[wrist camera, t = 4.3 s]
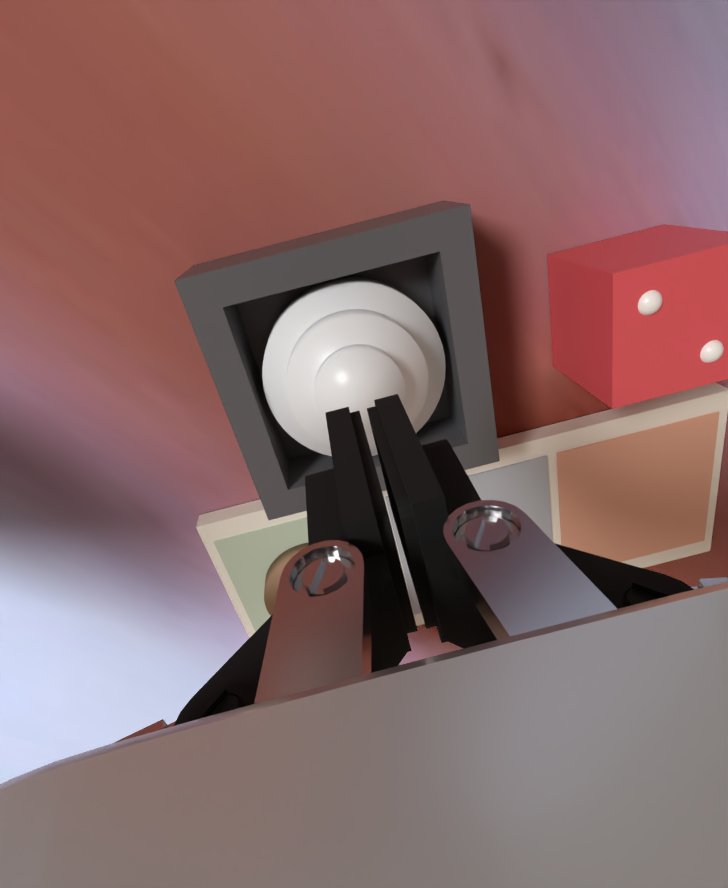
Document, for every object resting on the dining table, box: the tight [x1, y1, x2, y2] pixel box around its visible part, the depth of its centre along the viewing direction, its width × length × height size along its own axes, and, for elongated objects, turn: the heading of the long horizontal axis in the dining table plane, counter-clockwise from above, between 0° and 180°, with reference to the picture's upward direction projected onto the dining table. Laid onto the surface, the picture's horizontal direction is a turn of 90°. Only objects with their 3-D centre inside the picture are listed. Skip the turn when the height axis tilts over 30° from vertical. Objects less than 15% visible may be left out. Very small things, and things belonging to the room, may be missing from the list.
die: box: [547, 225, 728, 409], centre depth 20 cm, size 5×5×5 cm
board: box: [196, 383, 728, 638], centre depth 27 cm, size 10×26×1 cm, turn 103°
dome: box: [262, 277, 446, 456], centre depth 19 cm, size 7×7×3 cm
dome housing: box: [175, 201, 500, 520], centre depth 21 cm, size 10×10×4 cm
